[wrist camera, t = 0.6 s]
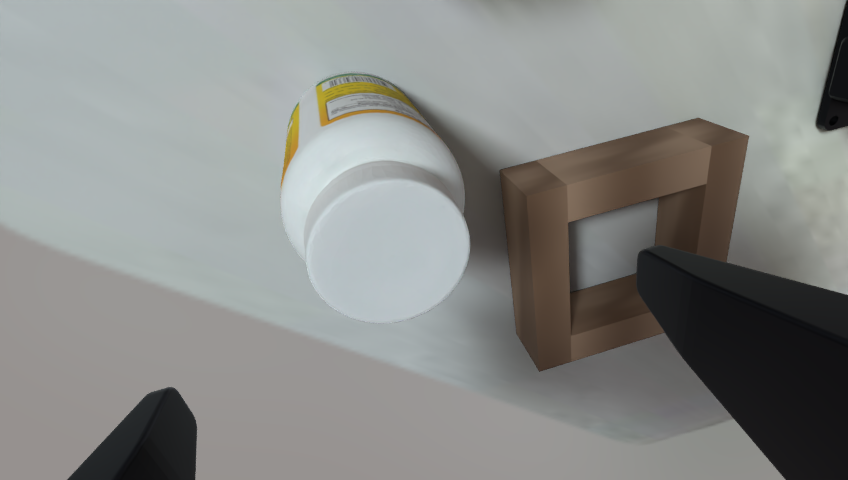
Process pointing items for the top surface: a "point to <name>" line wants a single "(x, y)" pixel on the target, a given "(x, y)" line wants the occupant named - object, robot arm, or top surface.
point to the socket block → (600, 192)
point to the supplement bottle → (372, 200)
